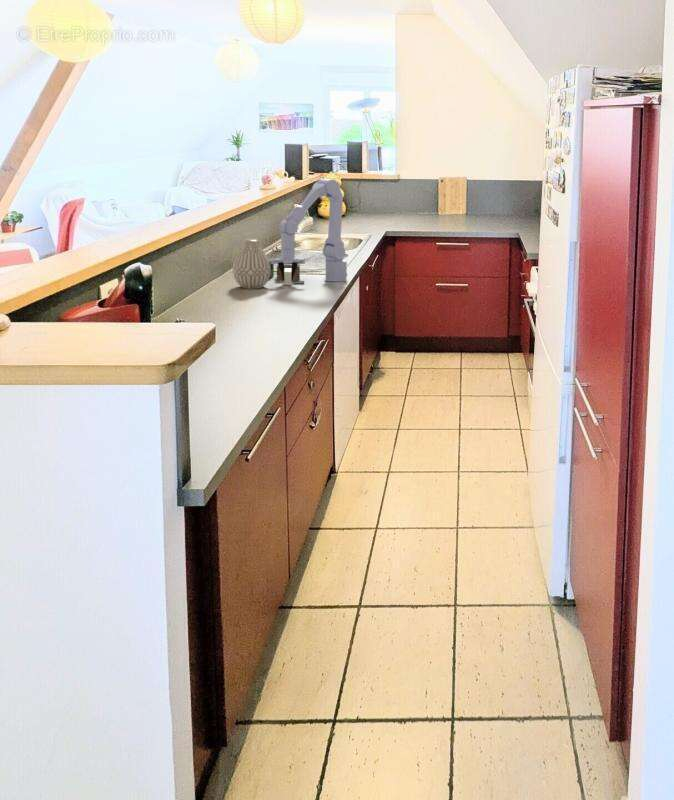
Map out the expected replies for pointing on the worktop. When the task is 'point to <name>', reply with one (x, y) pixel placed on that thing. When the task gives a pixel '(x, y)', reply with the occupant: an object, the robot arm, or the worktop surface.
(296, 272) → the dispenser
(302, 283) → the mat
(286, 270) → the cream flat block piece
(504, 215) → the worktop surface
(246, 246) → the vase
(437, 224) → the worktop surface
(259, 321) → the worktop surface
